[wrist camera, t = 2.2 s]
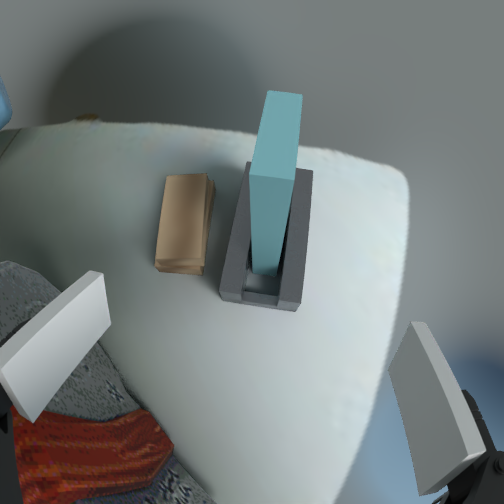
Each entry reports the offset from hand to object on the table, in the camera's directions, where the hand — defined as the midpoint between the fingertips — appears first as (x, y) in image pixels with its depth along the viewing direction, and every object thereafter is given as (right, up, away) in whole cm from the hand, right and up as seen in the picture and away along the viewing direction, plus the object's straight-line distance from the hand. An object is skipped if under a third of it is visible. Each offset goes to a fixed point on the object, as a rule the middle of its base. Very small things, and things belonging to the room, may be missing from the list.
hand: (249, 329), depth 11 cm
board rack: (+2, +4, +21) cm, 22 cm away
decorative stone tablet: (-14, -14, +14) cm, 24 cm away
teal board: (+2, +4, +22) cm, 22 cm away
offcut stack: (-7, +6, +23) cm, 24 cm away
